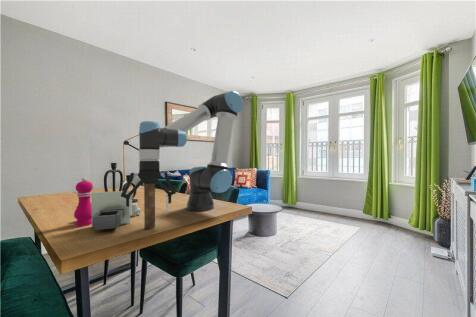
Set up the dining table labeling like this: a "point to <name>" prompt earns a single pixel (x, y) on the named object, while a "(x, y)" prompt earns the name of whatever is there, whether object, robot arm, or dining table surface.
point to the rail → (149, 206)
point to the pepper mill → (84, 203)
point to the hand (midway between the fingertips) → (149, 213)
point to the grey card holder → (109, 210)
